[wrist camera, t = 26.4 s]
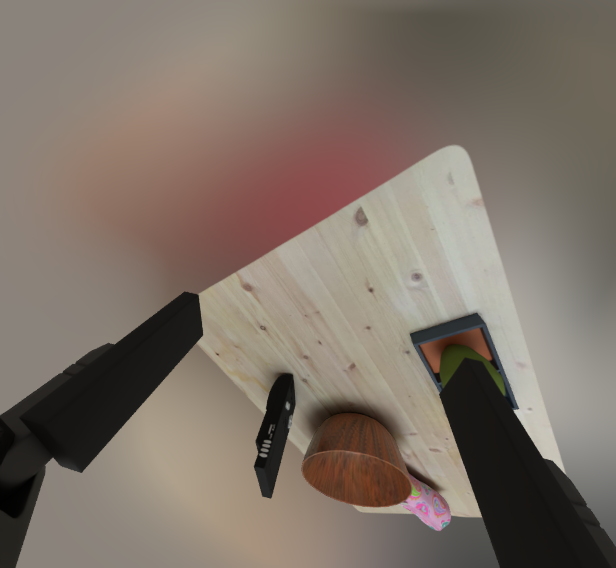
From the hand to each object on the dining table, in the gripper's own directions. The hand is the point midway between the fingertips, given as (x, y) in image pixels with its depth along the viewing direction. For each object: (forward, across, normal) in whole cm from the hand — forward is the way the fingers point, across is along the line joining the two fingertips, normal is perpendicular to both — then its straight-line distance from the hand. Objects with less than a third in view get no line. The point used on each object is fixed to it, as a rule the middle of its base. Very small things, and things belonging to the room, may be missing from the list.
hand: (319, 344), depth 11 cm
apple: (+28, +25, -20) cm, 43 cm away
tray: (+29, +29, -24) cm, 47 cm away
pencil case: (+29, +35, -70) cm, 83 cm away
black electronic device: (+29, -5, -45) cm, 54 cm away
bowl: (+29, +15, -55) cm, 64 cm away
